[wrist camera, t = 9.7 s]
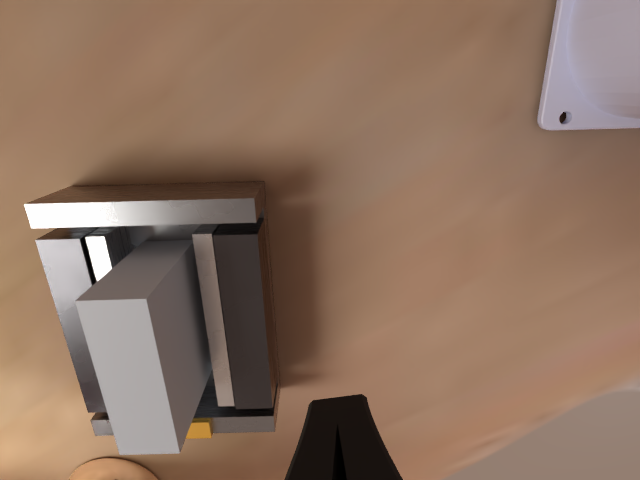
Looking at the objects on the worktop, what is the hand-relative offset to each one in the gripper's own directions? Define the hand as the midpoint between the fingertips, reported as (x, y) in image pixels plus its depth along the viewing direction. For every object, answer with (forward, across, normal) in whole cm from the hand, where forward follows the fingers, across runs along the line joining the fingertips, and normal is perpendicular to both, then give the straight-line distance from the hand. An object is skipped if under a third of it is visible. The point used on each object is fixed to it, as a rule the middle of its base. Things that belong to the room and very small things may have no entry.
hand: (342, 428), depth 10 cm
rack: (+10, +8, +1) cm, 13 cm away
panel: (+10, +8, +1) cm, 12 cm away
